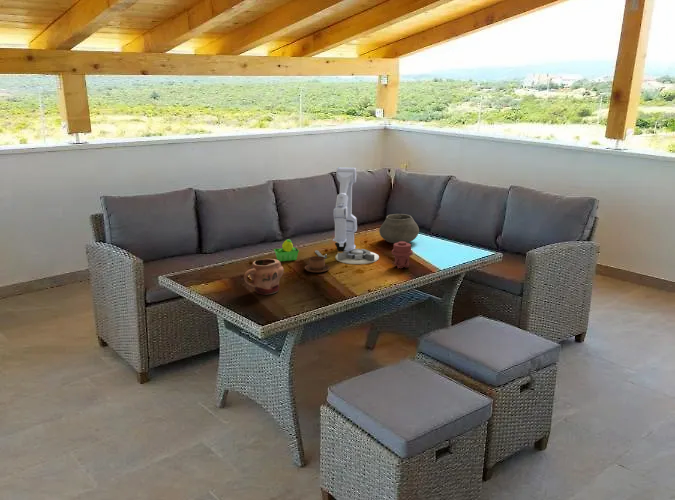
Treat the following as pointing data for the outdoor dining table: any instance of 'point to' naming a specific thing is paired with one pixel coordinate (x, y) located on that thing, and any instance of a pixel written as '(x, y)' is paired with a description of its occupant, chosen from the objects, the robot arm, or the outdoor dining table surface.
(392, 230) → the clay pot
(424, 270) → the outdoor dining table surface
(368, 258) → the white round disc
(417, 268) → the outdoor dining table surface
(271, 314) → the outdoor dining table surface
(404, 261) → the mechanical component
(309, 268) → the cup and saucer
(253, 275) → the decorative planter
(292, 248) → the fruit basket
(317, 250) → the pin spanner
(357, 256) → the grey block crown
